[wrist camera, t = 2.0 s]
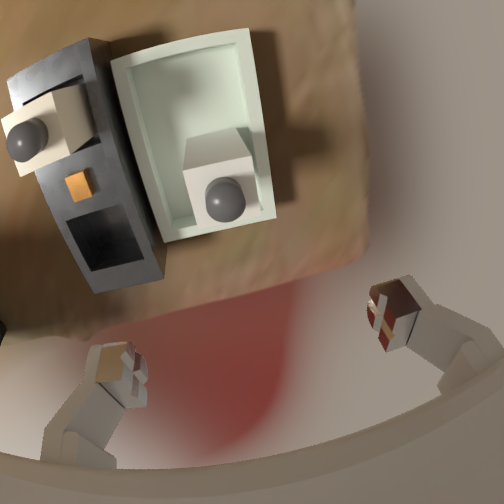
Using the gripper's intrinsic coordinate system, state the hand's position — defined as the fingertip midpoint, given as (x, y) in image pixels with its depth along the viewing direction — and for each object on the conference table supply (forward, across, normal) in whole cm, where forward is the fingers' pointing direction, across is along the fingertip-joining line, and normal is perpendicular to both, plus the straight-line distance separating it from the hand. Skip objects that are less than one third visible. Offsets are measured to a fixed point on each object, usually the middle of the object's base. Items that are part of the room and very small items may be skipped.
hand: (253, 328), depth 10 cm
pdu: (+19, +10, -2) cm, 21 cm away
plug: (+18, 0, 0) cm, 18 cm away
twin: (+18, +10, -7) cm, 22 cm away
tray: (+19, +1, -2) cm, 19 cm away
